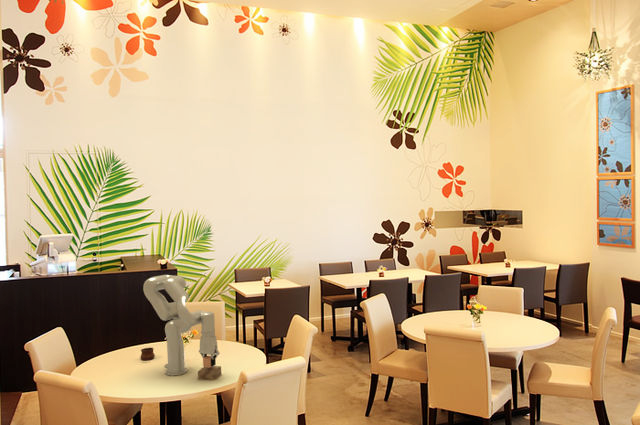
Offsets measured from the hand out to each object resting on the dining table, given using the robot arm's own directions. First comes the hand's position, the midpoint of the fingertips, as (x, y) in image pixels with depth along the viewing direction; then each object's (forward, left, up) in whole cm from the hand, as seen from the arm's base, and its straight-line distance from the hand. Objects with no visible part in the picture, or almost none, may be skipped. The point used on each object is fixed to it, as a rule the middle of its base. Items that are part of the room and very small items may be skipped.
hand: (209, 364), depth 302 cm
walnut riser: (0, 0, -7) cm, 7 cm away
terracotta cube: (0, 0, -1) cm, 1 cm away
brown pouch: (-62, +11, -8) cm, 64 cm away
